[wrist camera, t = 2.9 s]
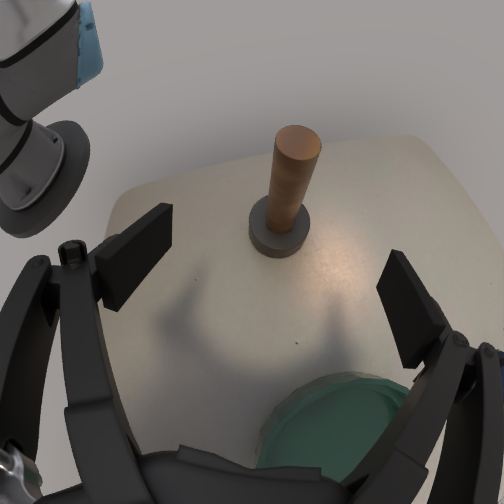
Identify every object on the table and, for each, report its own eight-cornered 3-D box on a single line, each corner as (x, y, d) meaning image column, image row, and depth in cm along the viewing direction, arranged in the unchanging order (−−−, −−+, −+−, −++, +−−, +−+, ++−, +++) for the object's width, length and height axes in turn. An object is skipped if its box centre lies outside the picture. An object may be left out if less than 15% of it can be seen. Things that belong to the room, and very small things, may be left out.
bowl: (241, 496, 21) (240, 520, 16) (275, 361, 26) (281, 367, 21) (379, 497, 20) (394, 515, 15) (419, 375, 25) (444, 379, 20)
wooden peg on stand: (244, 252, 29) (237, 172, 14) (255, 201, 31) (258, 101, 16) (300, 263, 29) (345, 194, 14) (308, 212, 30) (347, 119, 16)
